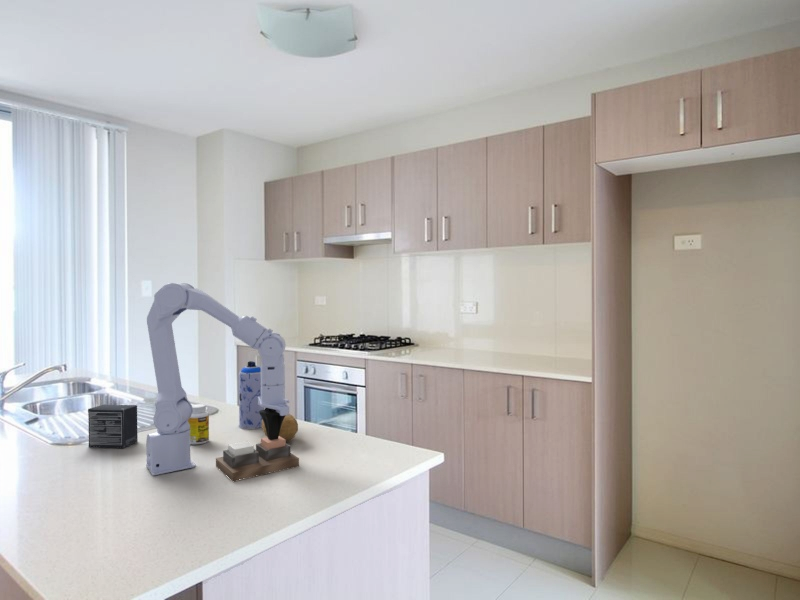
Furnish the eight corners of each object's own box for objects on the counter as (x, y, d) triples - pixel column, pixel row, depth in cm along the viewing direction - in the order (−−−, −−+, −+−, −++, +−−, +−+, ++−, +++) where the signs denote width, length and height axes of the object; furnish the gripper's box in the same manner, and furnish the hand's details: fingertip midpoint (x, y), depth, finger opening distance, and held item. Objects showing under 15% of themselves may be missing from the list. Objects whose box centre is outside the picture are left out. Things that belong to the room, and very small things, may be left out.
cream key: (234, 458, 116) (234, 449, 116) (228, 452, 119) (228, 444, 119) (253, 454, 118) (253, 445, 118) (246, 449, 122) (246, 441, 122)
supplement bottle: (198, 446, 136) (197, 408, 136) (182, 443, 139) (182, 406, 138) (213, 440, 142) (213, 404, 141) (198, 438, 144) (198, 402, 143)
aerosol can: (238, 423, 159) (238, 360, 159) (264, 421, 161) (264, 359, 161) (238, 430, 152) (238, 364, 151) (265, 428, 154) (265, 362, 153)
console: (232, 481, 112) (232, 462, 112) (215, 466, 121) (215, 448, 121) (299, 466, 122) (298, 448, 121) (278, 453, 131) (278, 436, 131)
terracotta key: (268, 451, 121) (267, 442, 121) (260, 446, 124) (260, 438, 124) (285, 447, 123) (285, 439, 123) (277, 443, 127) (277, 435, 127)
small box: (139, 441, 141) (138, 404, 141) (124, 449, 134) (123, 409, 134) (103, 440, 142) (103, 403, 142) (87, 447, 135) (86, 408, 135)
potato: (273, 450, 133) (272, 420, 133) (255, 437, 145) (254, 409, 145) (307, 443, 139) (306, 414, 139) (287, 431, 151) (286, 404, 150)
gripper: (301, 386, 120) (301, 443, 120) (276, 377, 131) (276, 429, 132) (272, 390, 116) (273, 448, 116) (249, 380, 127) (250, 434, 128)
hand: (273, 438), depth 124 cm, fingers closed
